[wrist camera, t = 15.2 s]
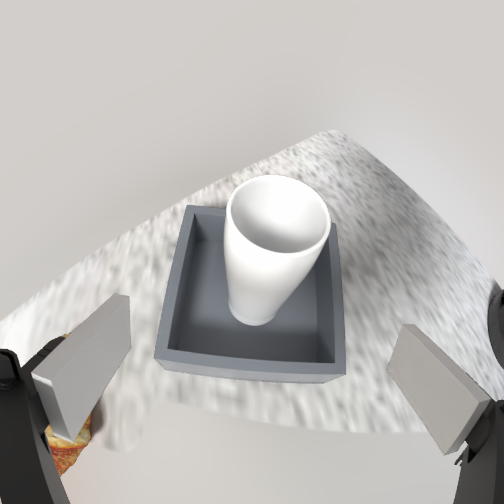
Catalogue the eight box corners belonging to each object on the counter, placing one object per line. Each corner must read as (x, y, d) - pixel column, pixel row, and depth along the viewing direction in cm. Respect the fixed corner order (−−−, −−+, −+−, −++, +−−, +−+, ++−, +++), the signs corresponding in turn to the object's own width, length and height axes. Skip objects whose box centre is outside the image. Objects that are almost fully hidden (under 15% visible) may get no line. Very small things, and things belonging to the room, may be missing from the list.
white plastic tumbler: (291, 286, 32) (338, 191, 19) (274, 343, 29) (323, 273, 16) (233, 266, 33) (246, 161, 20) (211, 321, 29) (207, 234, 16)
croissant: (81, 334, 30) (32, 300, 25) (132, 351, 26) (73, 313, 20) (35, 476, 19) (-20, 460, 13) (80, 523, 14) (14, 516, 9)
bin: (319, 252, 36) (335, 223, 31) (322, 383, 28) (345, 374, 23) (190, 237, 35) (186, 204, 30) (165, 369, 27) (153, 358, 22)
